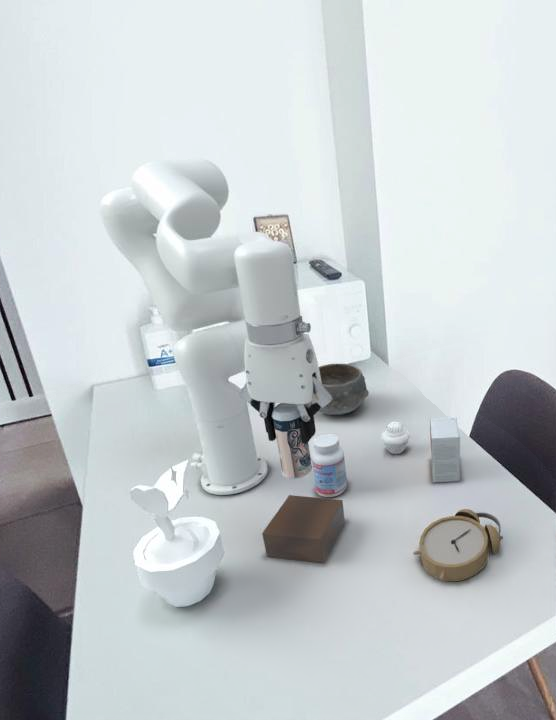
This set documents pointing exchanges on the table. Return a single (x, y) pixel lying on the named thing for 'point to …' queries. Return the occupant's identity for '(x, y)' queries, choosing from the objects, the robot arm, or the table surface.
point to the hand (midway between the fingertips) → (291, 436)
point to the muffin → (395, 437)
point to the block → (304, 528)
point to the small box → (445, 449)
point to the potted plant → (176, 544)
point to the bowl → (342, 388)
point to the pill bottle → (328, 466)
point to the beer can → (291, 442)
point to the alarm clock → (458, 545)
